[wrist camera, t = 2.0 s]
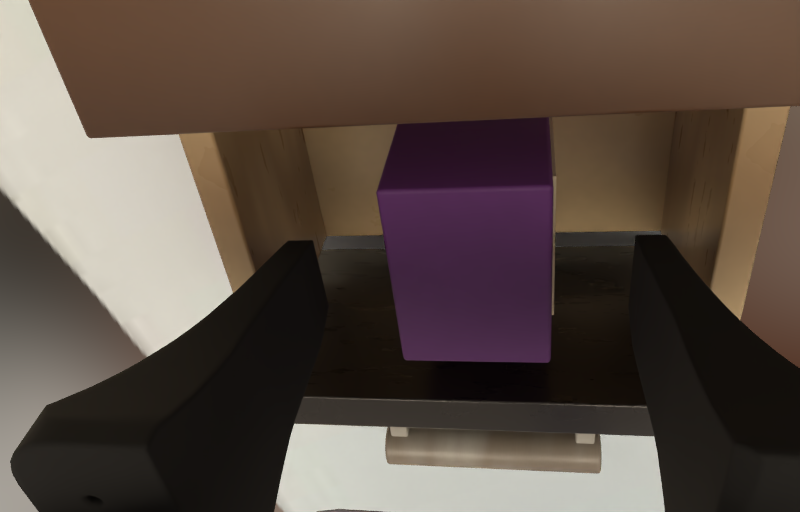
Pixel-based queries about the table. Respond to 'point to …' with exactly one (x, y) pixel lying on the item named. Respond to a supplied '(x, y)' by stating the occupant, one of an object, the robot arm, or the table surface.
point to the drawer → (573, 286)
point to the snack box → (472, 238)
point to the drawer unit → (411, 60)
